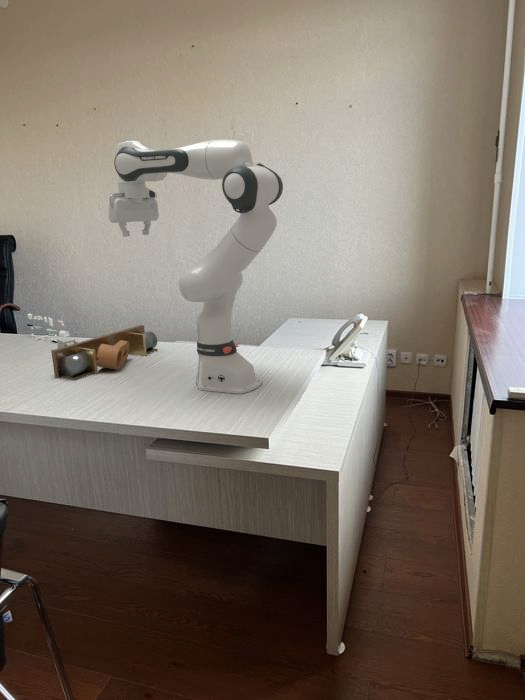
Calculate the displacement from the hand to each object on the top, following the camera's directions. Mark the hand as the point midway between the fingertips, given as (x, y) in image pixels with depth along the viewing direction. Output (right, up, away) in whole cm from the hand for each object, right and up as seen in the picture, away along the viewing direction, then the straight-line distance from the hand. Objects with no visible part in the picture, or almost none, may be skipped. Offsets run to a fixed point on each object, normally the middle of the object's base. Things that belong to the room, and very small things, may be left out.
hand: (136, 235), depth 180 cm
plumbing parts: (-53, -36, +58) cm, 86 cm away
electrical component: (-34, -41, +36) cm, 64 cm away
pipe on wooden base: (-14, -44, +21) cm, 51 cm away
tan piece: (-9, -41, +16) cm, 45 cm away
